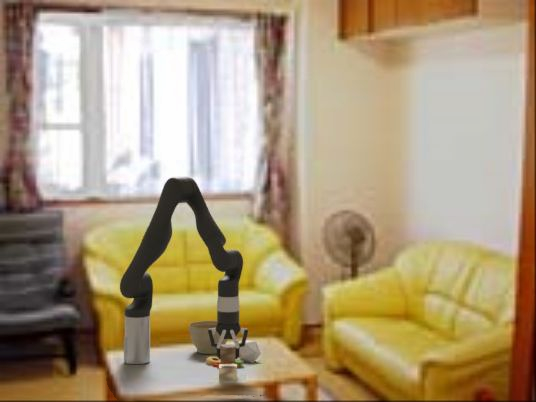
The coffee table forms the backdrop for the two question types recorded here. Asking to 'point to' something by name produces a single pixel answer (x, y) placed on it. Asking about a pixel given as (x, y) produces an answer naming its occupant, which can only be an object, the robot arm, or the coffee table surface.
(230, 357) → the walnut cube
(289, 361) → the coffee table surface
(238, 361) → the toy food set
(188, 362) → the coffee table surface
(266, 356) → the coffee table surface
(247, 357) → the die
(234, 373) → the beech block
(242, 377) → the board
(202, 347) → the planter bowl
